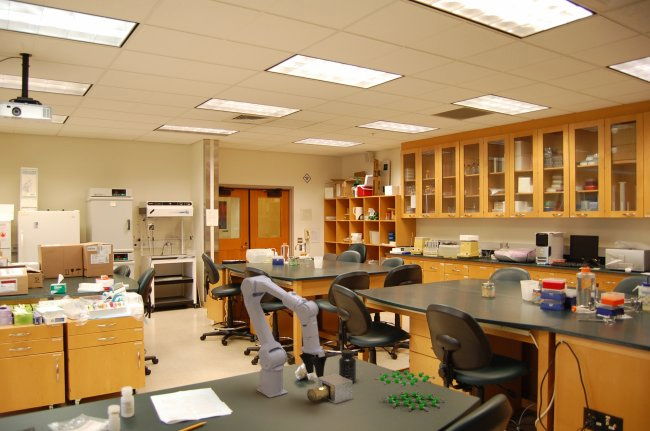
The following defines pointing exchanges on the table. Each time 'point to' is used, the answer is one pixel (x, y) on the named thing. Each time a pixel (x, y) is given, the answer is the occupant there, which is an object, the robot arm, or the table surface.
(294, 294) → the robot arm
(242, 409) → the table surface
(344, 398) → the housing
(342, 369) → the supplement bottle
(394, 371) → the molecule models
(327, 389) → the amber cylinder
